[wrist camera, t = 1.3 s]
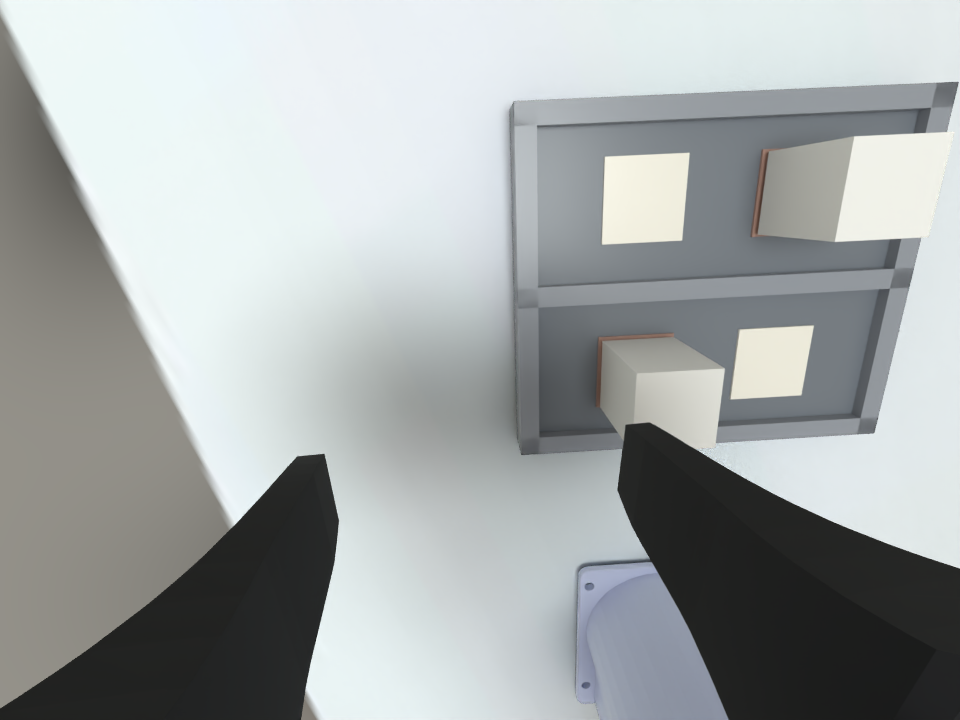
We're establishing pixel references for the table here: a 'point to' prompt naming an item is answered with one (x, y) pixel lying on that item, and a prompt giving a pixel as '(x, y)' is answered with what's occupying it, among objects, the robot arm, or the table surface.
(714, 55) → the table surface
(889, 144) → the tab
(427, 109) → the table surface
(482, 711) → the table surface
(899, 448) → the table surface
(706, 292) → the grey sorting tray
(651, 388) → the tab
